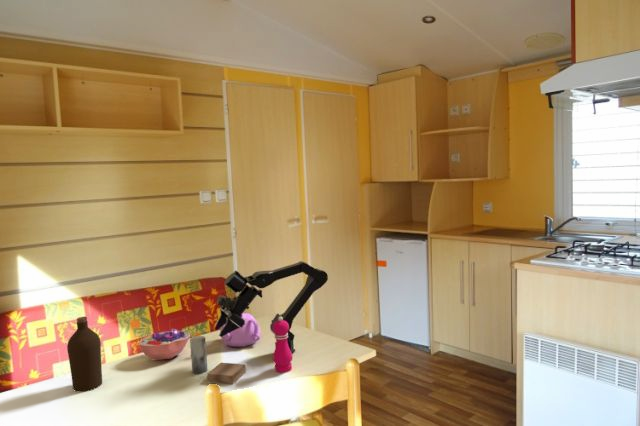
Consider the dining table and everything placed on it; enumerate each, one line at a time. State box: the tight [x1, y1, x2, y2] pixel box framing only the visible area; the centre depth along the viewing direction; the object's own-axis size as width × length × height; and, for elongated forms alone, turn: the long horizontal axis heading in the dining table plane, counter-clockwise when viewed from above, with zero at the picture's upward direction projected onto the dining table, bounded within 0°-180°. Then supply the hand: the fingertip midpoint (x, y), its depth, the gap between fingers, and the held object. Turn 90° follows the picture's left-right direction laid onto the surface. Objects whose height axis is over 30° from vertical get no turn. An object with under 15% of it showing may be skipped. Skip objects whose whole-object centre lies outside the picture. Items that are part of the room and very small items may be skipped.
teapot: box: [216, 311, 262, 348], centre depth 199 cm, size 22×22×14 cm
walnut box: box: [206, 362, 246, 385], centre depth 165 cm, size 10×10×3 cm
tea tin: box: [189, 335, 209, 375], centre depth 172 cm, size 6×6×12 cm
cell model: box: [138, 328, 191, 361], centre depth 188 cm, size 17×20×11 cm
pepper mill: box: [272, 316, 293, 374], centre depth 169 cm, size 7×7×20 cm
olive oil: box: [66, 316, 103, 392], centre depth 163 cm, size 11×11×25 cm
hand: (217, 332), depth 174 cm, fingers open, 9 cm apart
